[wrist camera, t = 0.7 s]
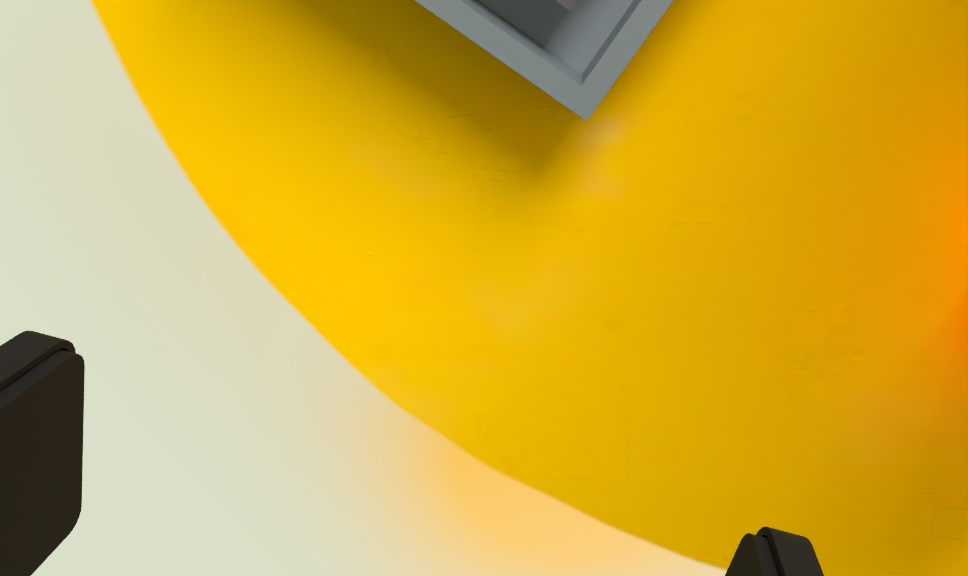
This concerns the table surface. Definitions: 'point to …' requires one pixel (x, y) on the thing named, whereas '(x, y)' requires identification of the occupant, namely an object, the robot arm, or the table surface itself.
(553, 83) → the box
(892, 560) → the table surface
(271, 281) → the table surface
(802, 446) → the table surface
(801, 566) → the robot arm
